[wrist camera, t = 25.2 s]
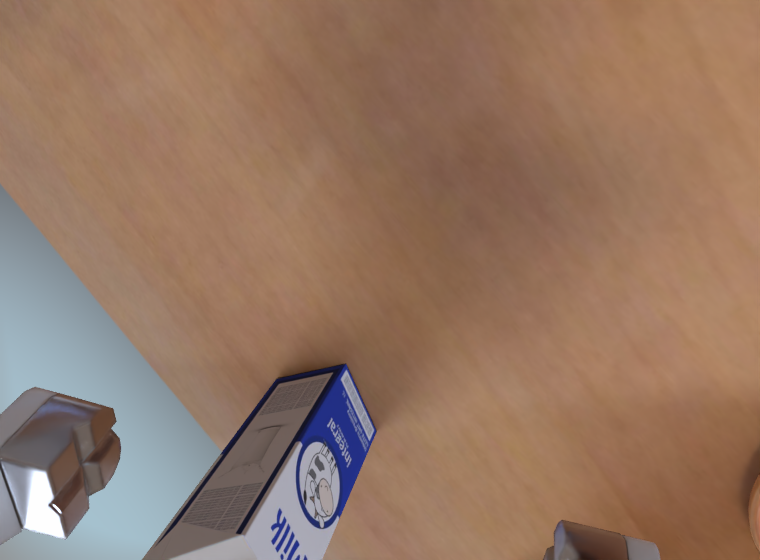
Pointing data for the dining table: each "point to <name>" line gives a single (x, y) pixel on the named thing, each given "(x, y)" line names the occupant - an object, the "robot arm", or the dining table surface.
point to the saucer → (755, 513)
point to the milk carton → (278, 476)
